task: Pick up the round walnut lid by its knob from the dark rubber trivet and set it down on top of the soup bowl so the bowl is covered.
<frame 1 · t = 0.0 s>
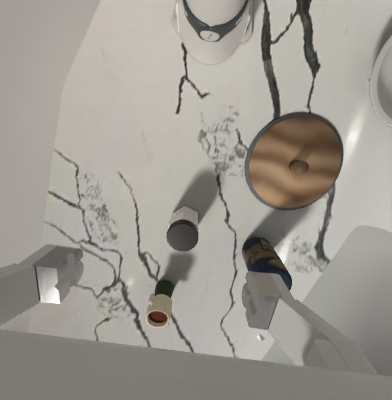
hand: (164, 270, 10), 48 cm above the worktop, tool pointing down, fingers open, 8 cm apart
jar: (185, 218, 61), on the worktop
character mug: (165, 286, 69), on the worktop
lid: (293, 165, 55), resting on trivet
trivet: (292, 165, 55), on the worktop
canister: (255, 248, 64), on the worktop
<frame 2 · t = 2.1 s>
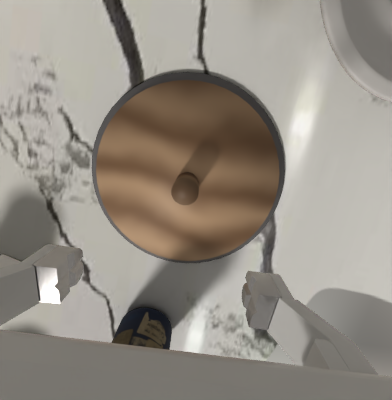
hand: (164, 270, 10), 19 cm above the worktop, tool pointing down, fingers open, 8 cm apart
jar: (13, 275, 34), on the worktop
lid: (187, 182, 28), resting on trivet
trivet: (187, 181, 28), on the worktop
canister: (147, 321, 37), on the worktop
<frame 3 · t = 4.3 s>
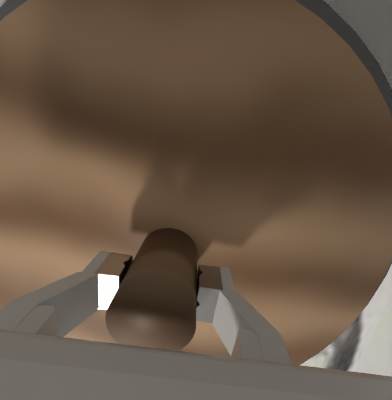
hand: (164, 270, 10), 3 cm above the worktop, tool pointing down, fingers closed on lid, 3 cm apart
lid: (171, 245, 12), resting on trivet, touching gripper
trivet: (172, 242, 12), on the worktop
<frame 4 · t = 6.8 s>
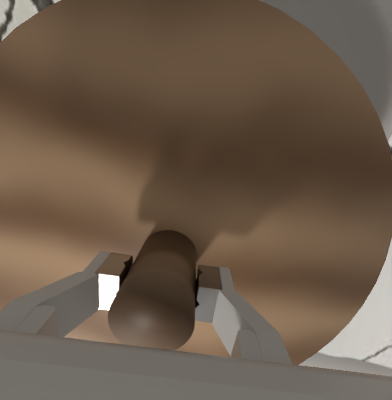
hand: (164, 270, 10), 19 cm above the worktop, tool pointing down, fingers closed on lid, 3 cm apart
lid: (170, 247, 12), point 17 cm above the worktop, touching gripper
soup bowl: (257, 114, 25), on the worktop
when the fingers open (11 cm above the worktop, at t = 9.1 s): lid drops 2 cm, resting on soup bowl.
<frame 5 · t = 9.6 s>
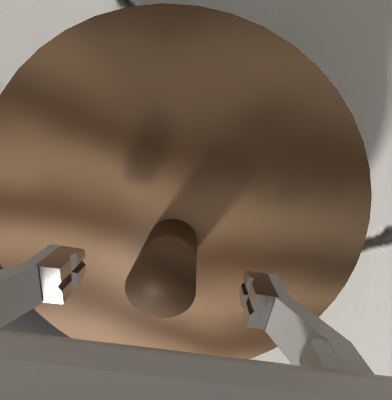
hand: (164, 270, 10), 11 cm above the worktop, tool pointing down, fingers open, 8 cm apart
lid: (174, 235, 14), point 6 cm above the worktop, touching soup bowl
trivet: (16, 346, 27), on the worktop
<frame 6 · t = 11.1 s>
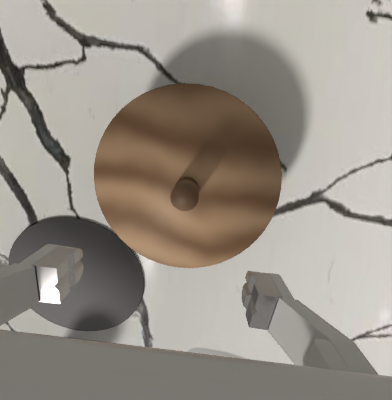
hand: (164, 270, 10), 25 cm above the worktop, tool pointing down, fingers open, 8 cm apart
lid: (187, 187, 27), point 6 cm above the worktop, touching soup bowl
trivet: (77, 278, 40), on the worktop
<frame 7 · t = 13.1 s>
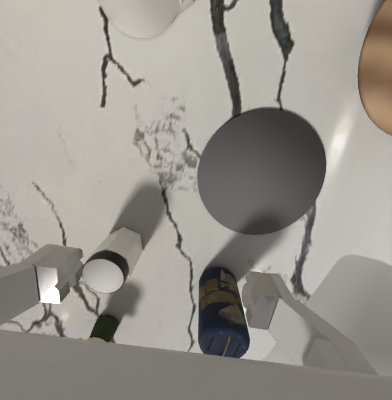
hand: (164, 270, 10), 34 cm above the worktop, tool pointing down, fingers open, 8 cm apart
jar: (126, 242, 48), on the worktop
character mug: (108, 321, 56), on the worktop
trivet: (260, 177, 42), on the worktop
canister: (216, 279, 51), on the worktop
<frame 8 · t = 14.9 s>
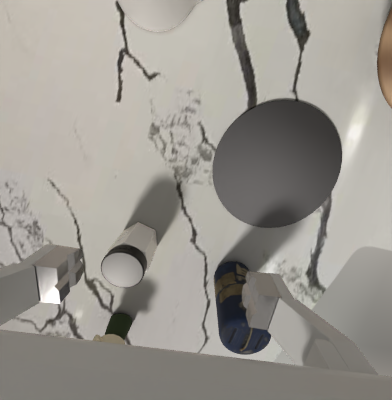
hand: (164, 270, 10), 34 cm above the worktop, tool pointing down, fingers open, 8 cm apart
jar: (140, 238, 48), on the worktop
character mug: (122, 318, 56), on the worktop
trivet: (275, 169, 42), on the worktop
canister: (231, 274, 51), on the worktop
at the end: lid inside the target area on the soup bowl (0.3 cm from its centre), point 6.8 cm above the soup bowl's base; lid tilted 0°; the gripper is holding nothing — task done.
